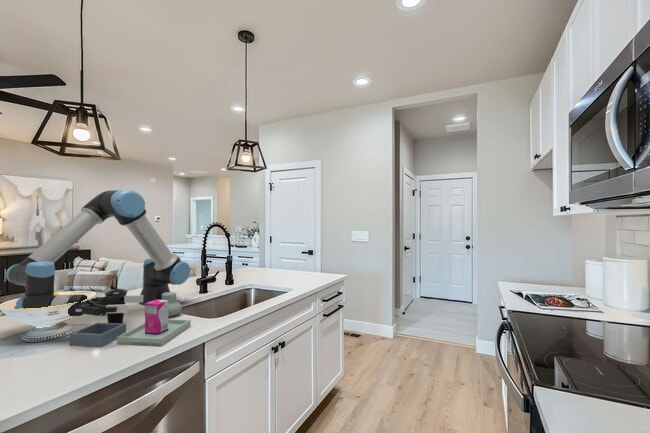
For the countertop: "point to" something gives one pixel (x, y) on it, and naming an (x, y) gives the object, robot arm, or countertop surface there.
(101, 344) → the grey storage bin
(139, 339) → the tray
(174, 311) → the grey knobbed rounded piece
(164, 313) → the supplement box
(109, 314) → the drinking cup
